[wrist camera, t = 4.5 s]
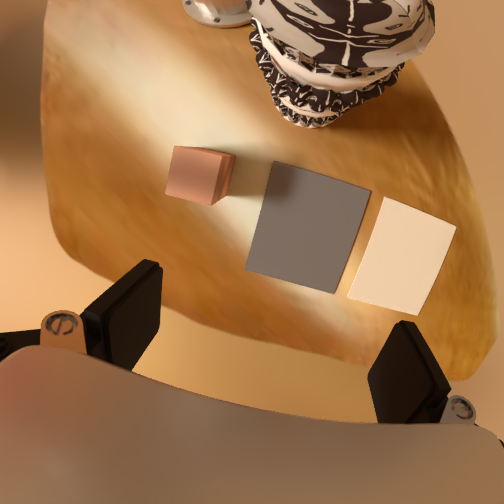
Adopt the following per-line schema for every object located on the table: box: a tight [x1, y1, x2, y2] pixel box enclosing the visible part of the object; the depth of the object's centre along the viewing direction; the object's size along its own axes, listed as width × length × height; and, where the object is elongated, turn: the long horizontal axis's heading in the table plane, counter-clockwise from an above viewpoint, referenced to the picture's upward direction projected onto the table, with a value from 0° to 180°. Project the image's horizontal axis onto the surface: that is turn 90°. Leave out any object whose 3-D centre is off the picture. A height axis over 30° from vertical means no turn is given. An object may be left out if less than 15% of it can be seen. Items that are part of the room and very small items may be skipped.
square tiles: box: [245, 161, 456, 316], centre depth 34 cm, size 14×26×1 cm, turn 76°
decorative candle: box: [245, 0, 435, 128], centre depth 17 cm, size 9×9×25 cm
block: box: [165, 146, 236, 206], centre depth 30 cm, size 5×5×7 cm
